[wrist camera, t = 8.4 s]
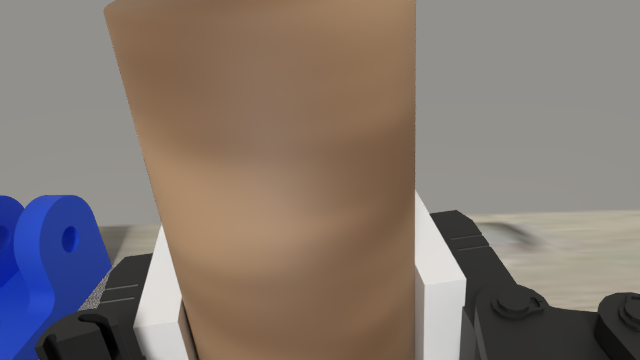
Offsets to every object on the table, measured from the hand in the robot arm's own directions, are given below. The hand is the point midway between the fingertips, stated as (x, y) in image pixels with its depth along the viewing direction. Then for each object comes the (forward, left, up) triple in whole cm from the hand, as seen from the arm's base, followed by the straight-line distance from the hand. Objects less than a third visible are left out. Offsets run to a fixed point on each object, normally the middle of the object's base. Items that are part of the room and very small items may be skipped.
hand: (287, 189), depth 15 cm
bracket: (-23, +18, -20) cm, 35 cm away
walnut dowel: (0, -5, -10) cm, 11 cm away
